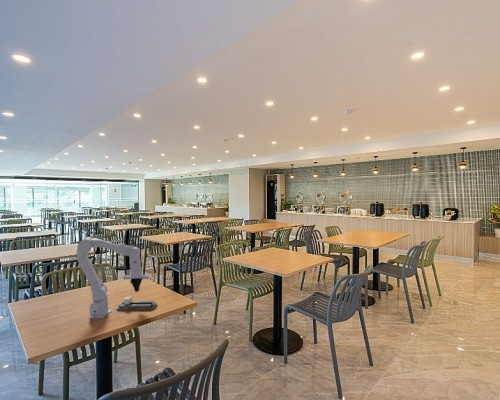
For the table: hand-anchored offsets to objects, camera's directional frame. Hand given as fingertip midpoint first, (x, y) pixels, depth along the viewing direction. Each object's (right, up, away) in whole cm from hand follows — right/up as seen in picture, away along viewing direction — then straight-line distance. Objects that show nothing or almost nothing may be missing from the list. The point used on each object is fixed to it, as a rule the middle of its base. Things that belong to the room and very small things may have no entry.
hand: (137, 291), depth 164 cm
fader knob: (-6, -9, +1) cm, 10 cm away
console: (0, -10, 0) cm, 10 cm away
